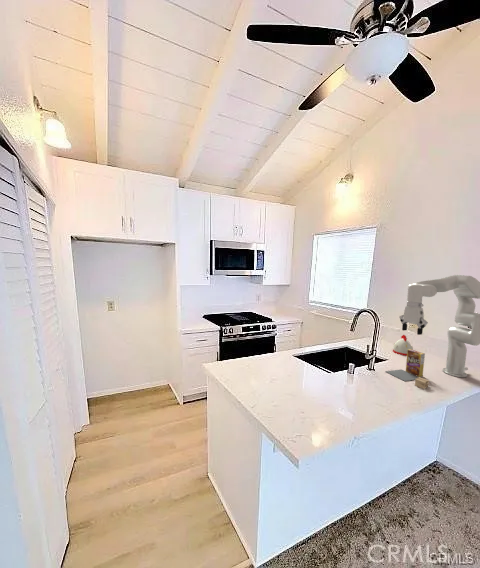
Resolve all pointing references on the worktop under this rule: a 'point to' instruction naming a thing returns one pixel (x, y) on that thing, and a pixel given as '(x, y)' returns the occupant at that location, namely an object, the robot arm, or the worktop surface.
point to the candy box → (415, 362)
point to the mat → (402, 375)
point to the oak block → (421, 382)
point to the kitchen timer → (402, 346)
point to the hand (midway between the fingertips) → (411, 332)
